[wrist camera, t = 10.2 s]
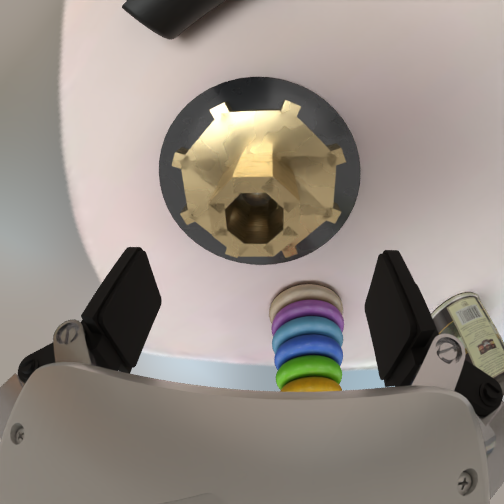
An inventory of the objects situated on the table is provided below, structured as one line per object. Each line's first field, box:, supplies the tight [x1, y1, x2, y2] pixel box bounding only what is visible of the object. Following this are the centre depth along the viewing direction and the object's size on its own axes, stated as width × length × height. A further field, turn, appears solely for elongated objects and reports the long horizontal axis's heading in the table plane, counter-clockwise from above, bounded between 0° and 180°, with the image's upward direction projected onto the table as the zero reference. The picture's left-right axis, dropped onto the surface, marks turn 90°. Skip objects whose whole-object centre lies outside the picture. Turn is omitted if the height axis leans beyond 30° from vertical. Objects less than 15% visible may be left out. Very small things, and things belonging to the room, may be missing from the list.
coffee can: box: [431, 292, 504, 395], centre depth 24 cm, size 10×10×14 cm
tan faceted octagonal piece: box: [172, 99, 346, 258], centre depth 18 cm, size 12×12×6 cm
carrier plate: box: [159, 77, 360, 265], centre depth 20 cm, size 16×16×4 cm
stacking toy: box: [269, 284, 344, 392], centre depth 22 cm, size 8×8×19 cm
